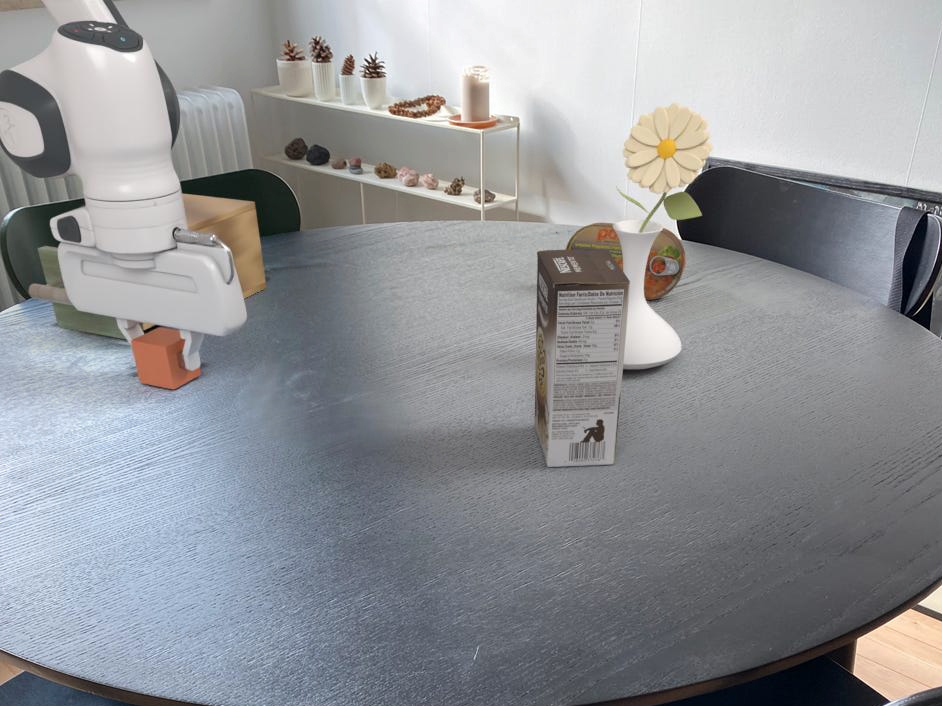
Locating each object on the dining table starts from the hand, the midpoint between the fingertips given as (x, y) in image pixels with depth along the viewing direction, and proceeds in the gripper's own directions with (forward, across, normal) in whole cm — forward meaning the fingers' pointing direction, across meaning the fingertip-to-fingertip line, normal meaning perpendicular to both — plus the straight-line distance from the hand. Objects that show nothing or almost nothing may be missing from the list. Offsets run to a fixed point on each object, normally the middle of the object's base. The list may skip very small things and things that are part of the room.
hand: (167, 363), depth 102 cm
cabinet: (+2, +16, -23) cm, 28 cm away
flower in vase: (+2, -42, -25) cm, 49 cm away
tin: (+2, -34, -46) cm, 58 cm away
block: (+2, 0, 0) cm, 2 cm away
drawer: (+1, +15, -10) cm, 19 cm away
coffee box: (+2, -44, -3) cm, 44 cm away
